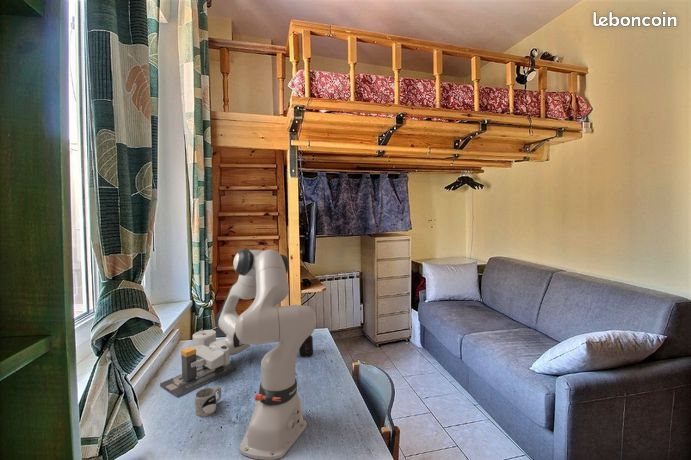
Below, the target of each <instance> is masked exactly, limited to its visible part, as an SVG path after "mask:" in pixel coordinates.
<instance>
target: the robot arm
mask: <svg viewBox="0 0 691 460" xmlns="http://www.w3.org/2000/svg"><path fill="white" fill-rule="evenodd" d="M232 263H233V264H232V265H233V270H234V272H235V274H237V275H238V279H237V280H236V282H234V283H232V285H231V286H230V287H229V290H228V292H227V293H226V296H225V299H224V301H223V303H222V305H221V308H220V309H219V311H218V312H217V314H216V316H215V318H214V324H215V326H216V327H217V328H218V329H219V330H220V331H222V332H223V333H224V335H226V336H225V338H222V339H218V340H216V341H215V342H212V343H211V344H210V345H209V347H208V346H205V345H198V346H195V347H193V346H192V347H193V348H195V349H196V361H193V362H190V367H195V366H197V367H200V366H202V365H204V366H206V367H208V368H210V369H214V368H217V367H220V366H222V365H224V364H228V363H230V356H235V355H237V354H239V353H241V352H243V351H245V350H246V349H248V348H249V347H250V345H254V346H255V345H257V346H258V345H265V344H271V343H272V344H273V343H277V345H276V346H274V347H273V348H272V349H270V350H269V351H268V352H267V353H265V354H264V356H263V358H262V359H261V361H260V384H259V389H258V392H257V393H256V394H255V396H254V401H255V402H256V404H255V407H254V409H253V411H252V416H250V417H251V418H250V420H249V423H248V426H247V429H246V432H245V434H244V435H243V439H242V441H241V442H240V444H239V446H238V447H239V448H238V450H239V453H240V454H241V455H243V456H246V457H247V458H251V459H255V460H278V459H281V458H283V457H284V456H285V455H286V454H287V452H288V451H289V450H290V448H291V447H292V446H293V445H294V444H295V442H296V441H297V440H298V438H299V437H300V436H301V435H302V434H303V433H304V431H305V430H306V429H307V427H308V424H307V421H306V420H304V418H303V417H304V416H303V415H304V414H303V406H302V400H301V398H300V397H299V395H298V392H297V391H298V382H297V381H298V380H297V377H296V368H297V367H296V364H297V356H298V353H299V349H300V347H301V345H302V344H303V342H304V341H305V340H306V339H307V338H308V337H309V336H310V335H311V336H312V335H313V333H314V332H315V329H316V327H317V316H316V313H315V311H314V309H313V307H310V305H304V304H303V305H302V304H292V305H291V304H290V305H282V306H276V305H279V304H280V303H281V302H283V301H284V300H285V299H286V298H287V296H288V294H289V291H290V286H289V281H288V275H287V274H288V272H289V267H290V262H289V258H288V257H287V256H286V255H285V254H282V253H280V252H278V251H277V250H275V249H266V250H265V249H264V250H261V249H248V248H244V249H240V250H238V251H237V252H236V254H235V256H234V258H233V262H232ZM240 299H241V300H252V299H254V300H253V302H252V303H251V304H250V305H249V307H248V308H246V310H244V311H243V312H241V314H240V315H239V314H238V312H237V311H236V307H237V304H238V303H239V300H240Z"/></svg>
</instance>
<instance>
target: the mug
mask: <svg viewBox="0 0 691 460" xmlns="http://www.w3.org/2000/svg"><path fill="white" fill-rule="evenodd" d="M216 393H218V394H217V395H216ZM221 399H222V388H221V387H220V386H218V387H215V388H214V387H204V388H201V389H199V390H198V391H196V392H195V394H194V403H195V407H194V408H195V415H196V417H198V416H199V418H206V417H209V416H211V415H212V414H214V413H215V412H216V410H217V404H218V402H219V401H220V400H221Z"/></svg>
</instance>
